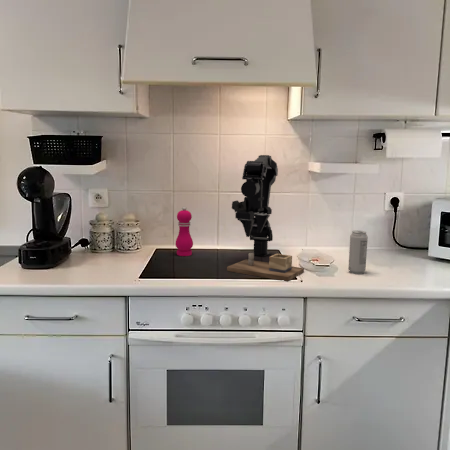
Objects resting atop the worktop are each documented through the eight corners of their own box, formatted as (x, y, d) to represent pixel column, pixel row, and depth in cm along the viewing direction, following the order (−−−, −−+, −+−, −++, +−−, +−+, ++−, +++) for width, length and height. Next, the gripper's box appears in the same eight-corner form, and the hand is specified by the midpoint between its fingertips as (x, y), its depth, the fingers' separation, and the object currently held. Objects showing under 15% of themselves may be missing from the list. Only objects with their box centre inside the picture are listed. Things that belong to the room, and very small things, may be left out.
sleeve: (276, 266, 178) (276, 253, 178) (291, 269, 175) (292, 255, 174) (269, 270, 173) (269, 256, 172) (284, 273, 170) (285, 259, 169)
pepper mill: (182, 257, 197) (181, 208, 194) (172, 254, 203) (171, 206, 199) (196, 254, 202) (196, 206, 198) (186, 251, 207) (186, 204, 204)
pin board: (245, 262, 190) (246, 247, 189) (303, 272, 177) (304, 256, 176) (227, 270, 178) (227, 254, 177) (287, 281, 166) (288, 264, 164)
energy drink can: (354, 269, 182) (356, 229, 180) (368, 272, 178) (371, 232, 176) (344, 272, 178) (347, 231, 176) (359, 275, 174) (362, 234, 172)
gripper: (247, 191, 198) (247, 229, 200) (223, 195, 182) (222, 236, 185) (272, 192, 192) (271, 232, 195) (249, 197, 176) (248, 239, 179)
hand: (253, 234), depth 188 cm, fingers open, 9 cm apart
